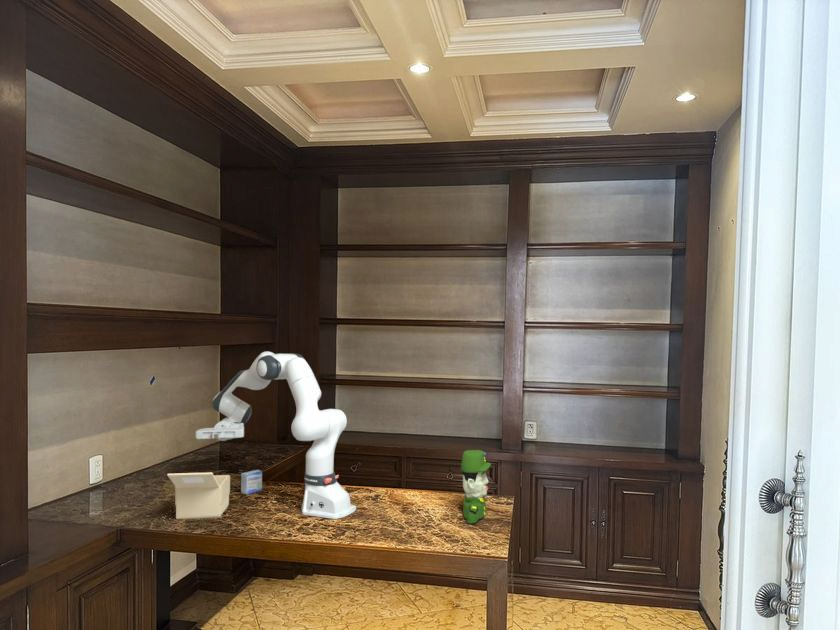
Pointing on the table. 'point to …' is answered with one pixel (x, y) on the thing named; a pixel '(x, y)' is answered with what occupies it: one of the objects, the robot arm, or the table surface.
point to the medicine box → (251, 481)
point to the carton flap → (193, 480)
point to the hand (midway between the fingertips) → (216, 436)
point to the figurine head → (474, 484)
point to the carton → (203, 500)
